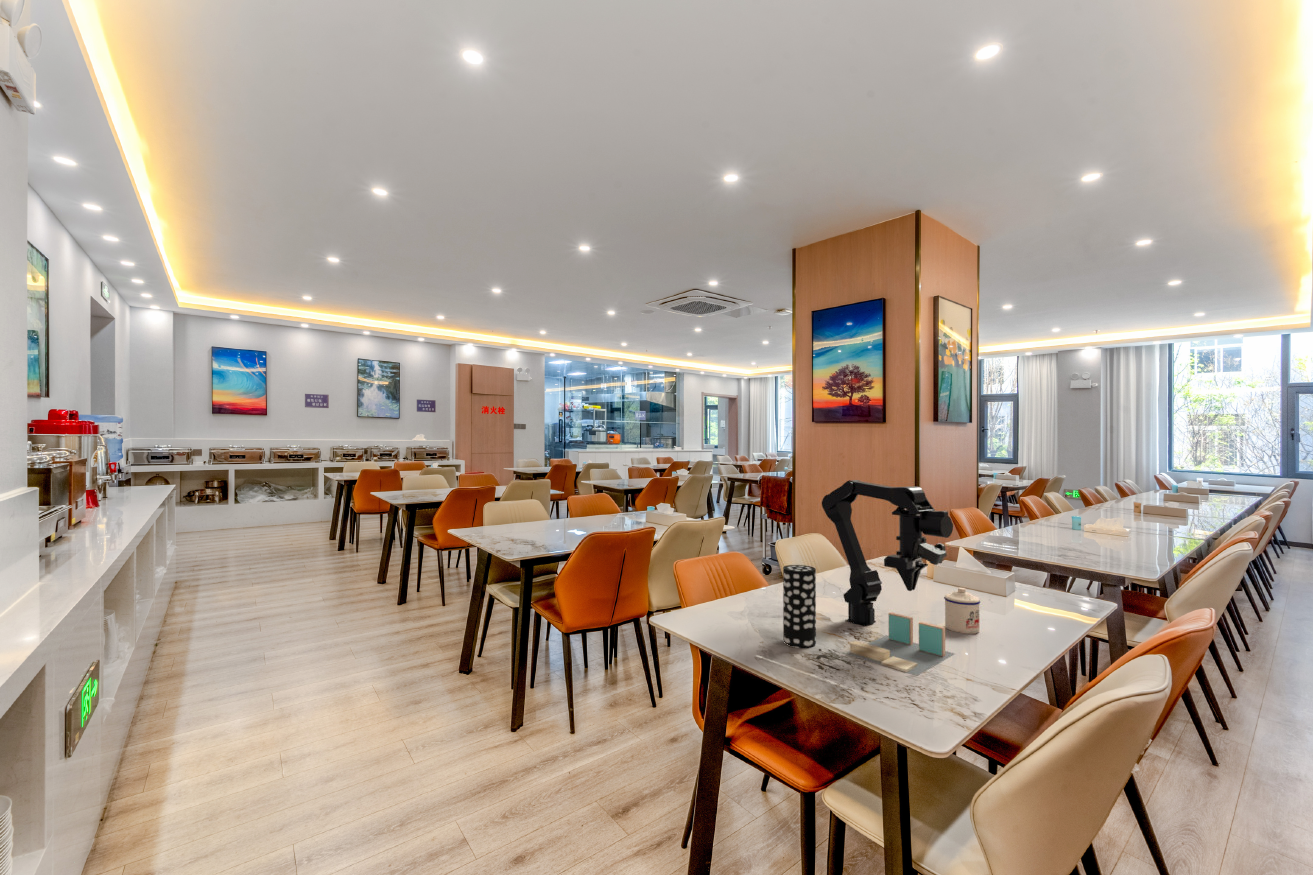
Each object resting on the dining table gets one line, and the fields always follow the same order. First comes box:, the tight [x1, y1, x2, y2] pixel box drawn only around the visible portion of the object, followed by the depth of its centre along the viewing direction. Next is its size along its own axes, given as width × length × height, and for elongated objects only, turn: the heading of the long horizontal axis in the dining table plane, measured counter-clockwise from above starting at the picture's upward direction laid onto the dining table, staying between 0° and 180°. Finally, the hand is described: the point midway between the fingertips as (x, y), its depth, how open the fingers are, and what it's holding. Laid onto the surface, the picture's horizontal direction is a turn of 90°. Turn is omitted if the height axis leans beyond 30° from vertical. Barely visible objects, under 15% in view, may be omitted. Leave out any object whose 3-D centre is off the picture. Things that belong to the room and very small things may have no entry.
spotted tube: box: [782, 564, 817, 649], centre depth 150 cm, size 8×8×20 cm
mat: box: [844, 635, 956, 677], centre depth 142 cm, size 18×21×1 cm
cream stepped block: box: [849, 640, 917, 673], centre depth 137 cm, size 15×6×2 cm, turn 41°
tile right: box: [918, 621, 946, 657], centre depth 142 cm, size 6×2×7 cm, turn 41°
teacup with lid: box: [943, 587, 981, 635], centre depth 163 cm, size 12×9×12 cm
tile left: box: [888, 612, 914, 645], centre depth 150 cm, size 6×2×7 cm, turn 41°
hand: (911, 590), depth 154 cm, fingers closed
